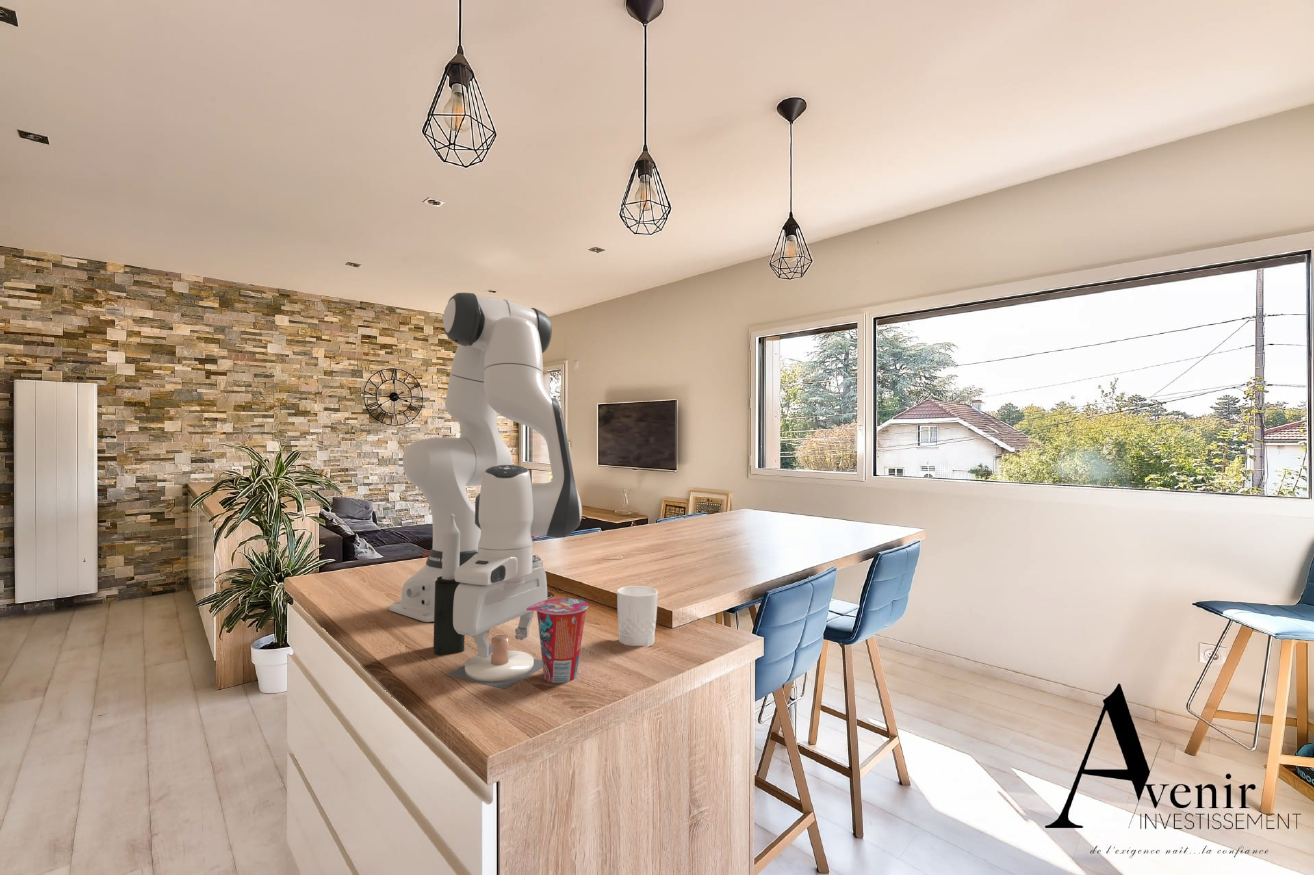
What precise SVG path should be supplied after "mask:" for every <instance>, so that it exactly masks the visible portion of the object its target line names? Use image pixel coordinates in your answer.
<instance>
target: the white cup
mask: <svg viewBox="0 0 1314 875" xmlns="http://www.w3.org/2000/svg"><path fill="white" fill-rule="evenodd" d="M616 594H617V595H616V597H617V600H616V601H617V602H616V604H617V626H618V642H619V643H620V644H624V645H625V646H631V647H635V646H636V647H647V648H649V647H651V646H653V645H654V643H655V634H656V633H655V632H656V626H657V625H656V624H657V614H658V613H657V612H658V597H659V590H658V589H657V588H654V587H651V586H646V585H629V586H622V587H620V588H618V589H617V590H616Z"/></svg>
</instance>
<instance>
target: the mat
mask: <svg viewBox="0 0 1314 875" xmlns="http://www.w3.org/2000/svg"><path fill="white" fill-rule="evenodd" d="M533 659H534V666H533V669H532V670H531V671H530V672H529V673H528V674H526V675H524V676H522V677H519V678H516V679H512V680H507V681H499V682H485V681H478V680H474V679H471V678H469V677H468V676H466V674H465V664H464V665H462V666H460V667H457V668H455V669H454V670H451V671H450V672H447V673H446V674H445V676H448V677H452V678H455V679H460V680H465V681H468V682H473V683H478V684H481V685H486V686H491V687H494V688H498V689H503V690H506V689H508V688H510V687H512V686H513V685H515V684H517V683H518V682H520V681H521V680H523V679H525V678H527V677H528V676H530V675H532V674H534V673H535V672H537V671H539V670H541V669H543V663H542V659H538V658H533Z"/></svg>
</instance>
